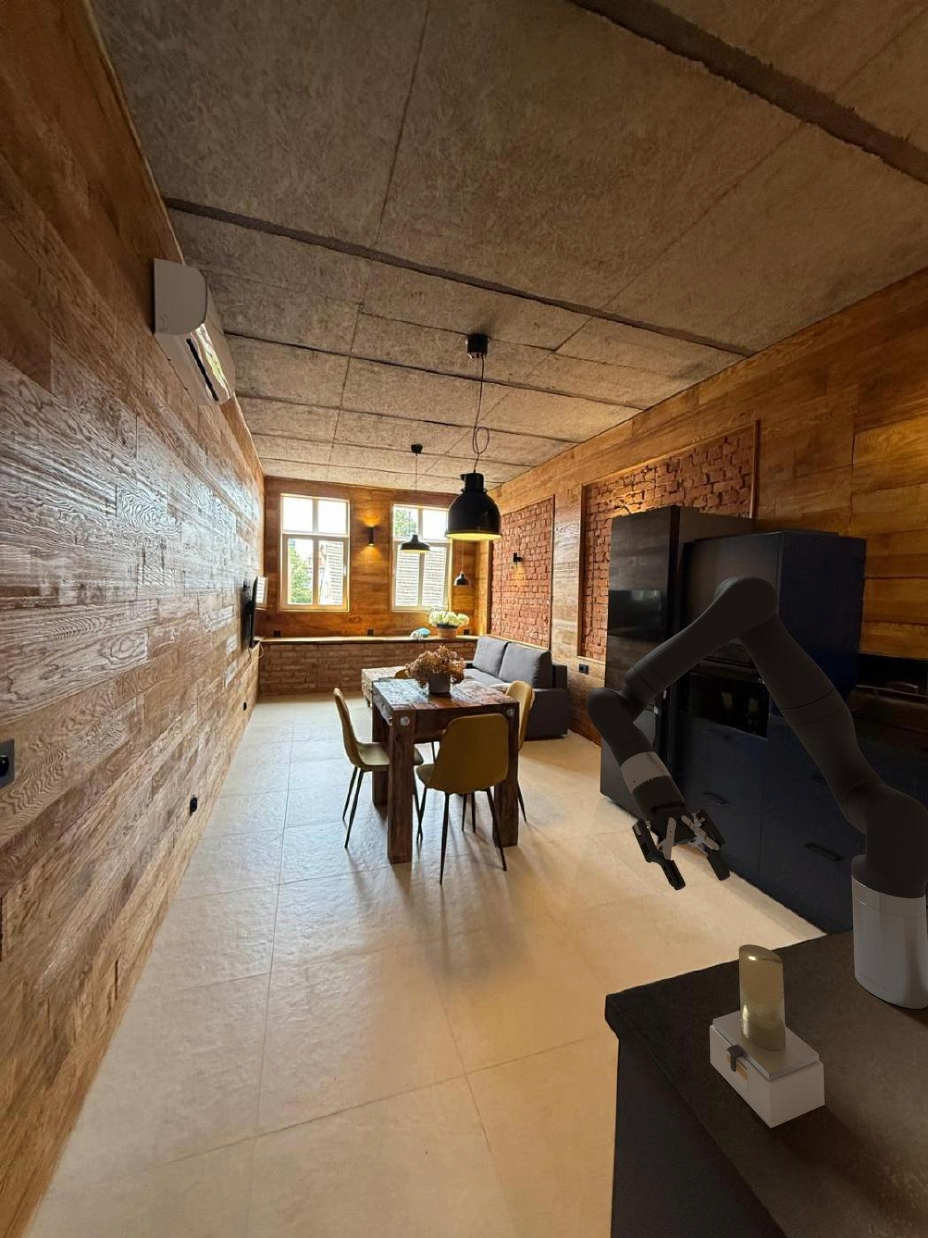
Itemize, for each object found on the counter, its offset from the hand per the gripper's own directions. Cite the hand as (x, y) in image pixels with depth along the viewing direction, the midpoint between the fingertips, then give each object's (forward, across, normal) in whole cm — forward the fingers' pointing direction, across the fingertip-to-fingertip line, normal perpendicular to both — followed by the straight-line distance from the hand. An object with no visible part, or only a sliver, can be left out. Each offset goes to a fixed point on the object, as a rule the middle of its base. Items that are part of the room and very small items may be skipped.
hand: (703, 883), depth 72 cm
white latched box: (+22, 0, +8) cm, 23 cm away
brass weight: (+17, 0, +4) cm, 18 cm away
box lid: (+20, -1, +7) cm, 22 cm away
